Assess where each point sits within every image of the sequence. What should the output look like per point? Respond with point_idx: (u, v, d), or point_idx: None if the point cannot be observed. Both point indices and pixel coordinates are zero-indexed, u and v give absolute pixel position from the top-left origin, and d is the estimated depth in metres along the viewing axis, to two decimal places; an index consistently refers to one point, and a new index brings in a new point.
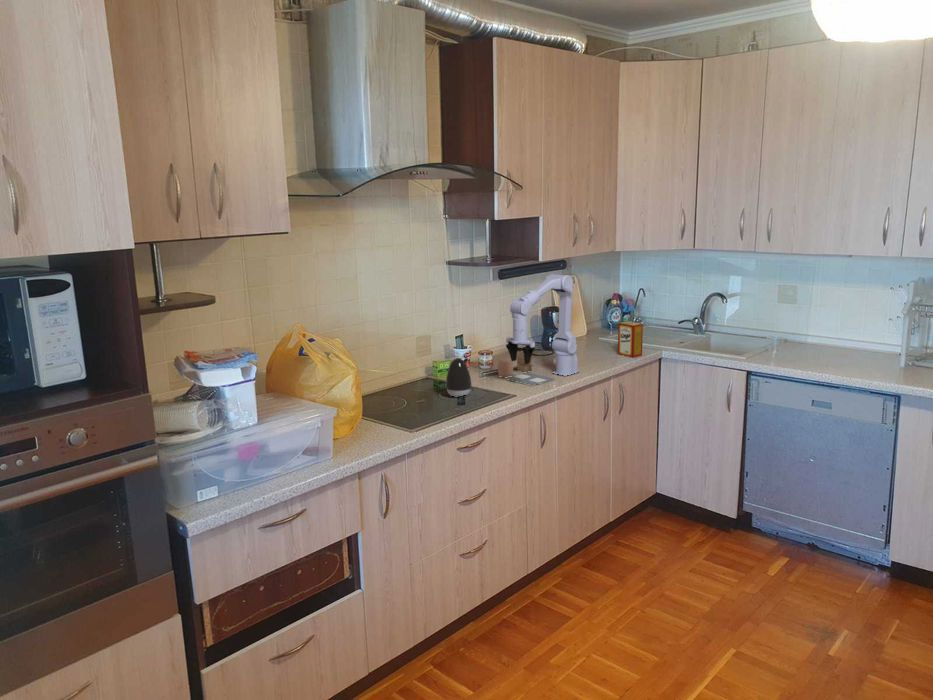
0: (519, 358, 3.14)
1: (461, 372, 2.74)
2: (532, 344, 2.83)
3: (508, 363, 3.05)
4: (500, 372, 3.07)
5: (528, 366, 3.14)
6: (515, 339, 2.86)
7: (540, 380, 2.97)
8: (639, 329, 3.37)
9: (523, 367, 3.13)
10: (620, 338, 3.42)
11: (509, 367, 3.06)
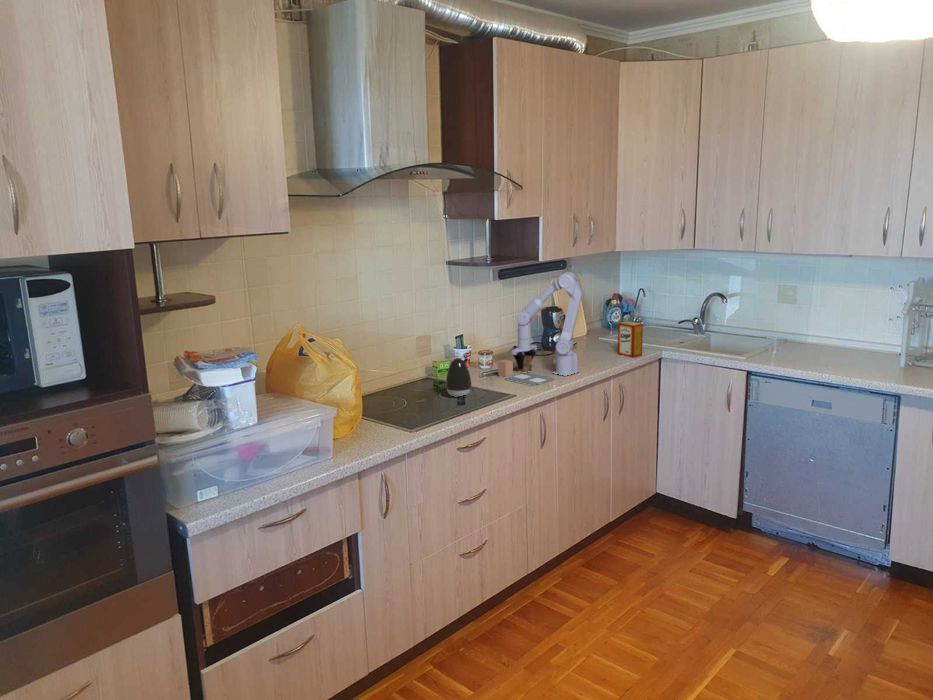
0: None
1: (461, 372, 2.74)
2: (512, 351, 3.09)
3: (508, 363, 3.05)
4: (500, 372, 3.07)
5: (528, 366, 3.14)
6: None
7: (540, 380, 2.97)
8: (640, 329, 3.37)
9: (523, 367, 3.13)
10: (620, 338, 3.42)
11: (509, 367, 3.06)
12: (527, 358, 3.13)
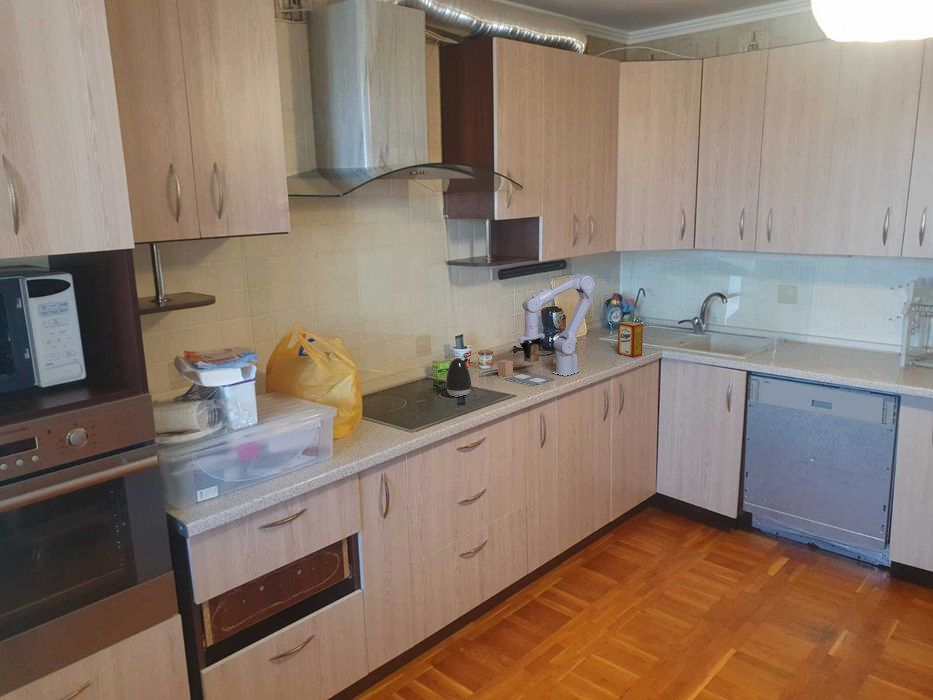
0: None
1: (461, 372, 2.74)
2: (518, 339, 2.98)
3: (508, 363, 3.05)
4: (500, 372, 3.07)
5: (535, 355, 3.02)
6: None
7: (540, 380, 2.97)
8: (639, 329, 3.37)
9: (530, 356, 3.02)
10: (620, 338, 3.42)
11: (509, 367, 3.06)
12: (534, 347, 3.01)
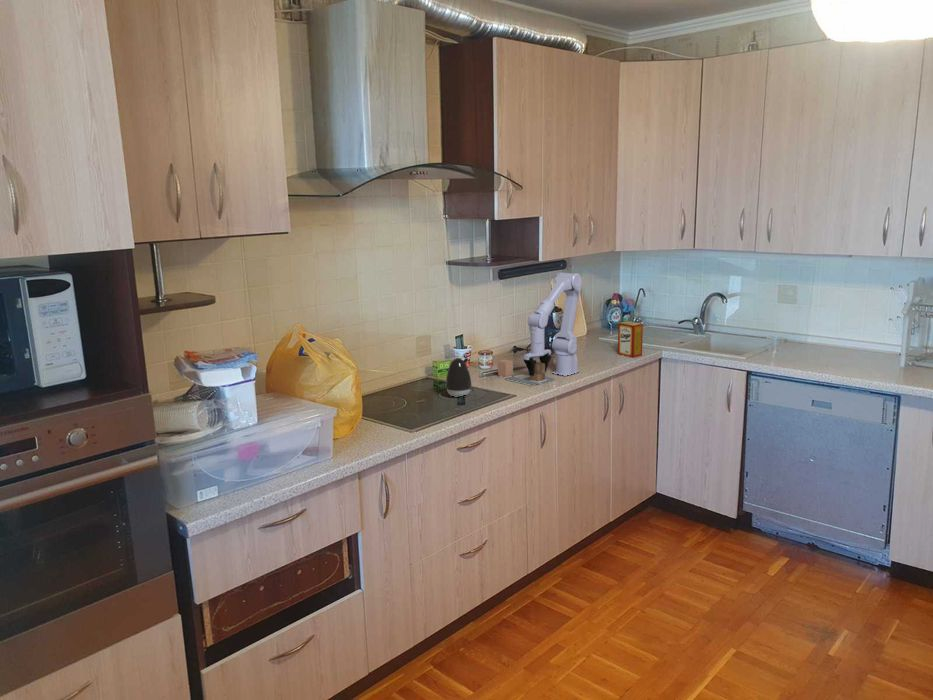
0: None
1: (461, 372, 2.74)
2: (524, 356, 2.91)
3: (508, 363, 3.05)
4: (500, 372, 3.07)
5: (541, 374, 2.96)
6: None
7: None
8: (639, 329, 3.37)
9: (536, 375, 2.95)
10: (620, 338, 3.42)
11: (509, 367, 3.06)
12: (540, 366, 2.95)
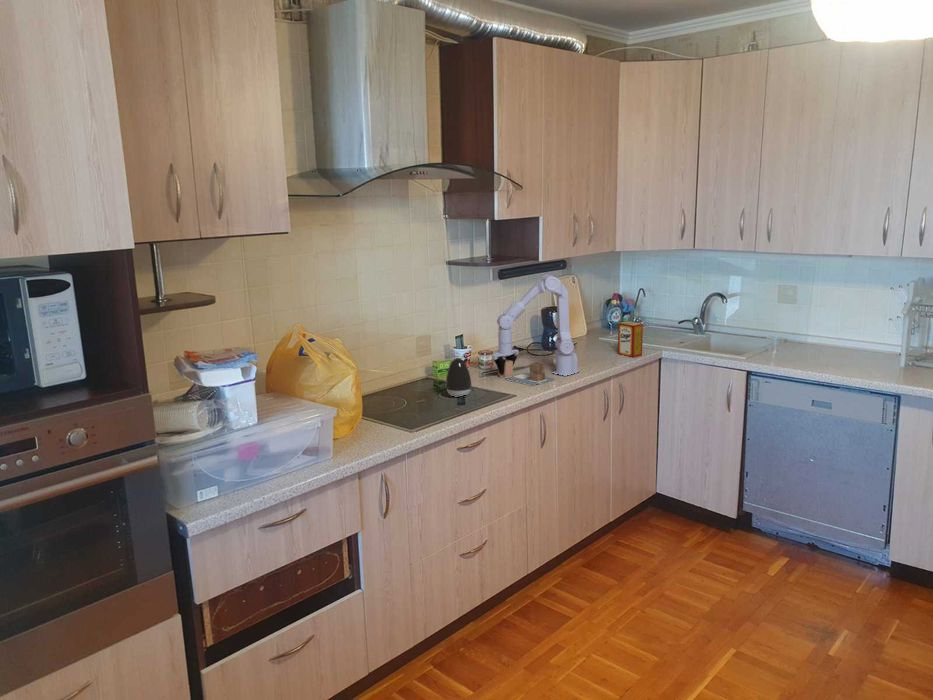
0: (532, 365, 2.96)
1: (461, 372, 2.74)
2: (492, 356, 3.01)
3: (508, 363, 3.05)
4: None
5: (541, 374, 2.96)
6: None
7: None
8: (639, 329, 3.37)
9: (536, 375, 2.95)
10: (620, 338, 3.42)
11: (509, 367, 3.06)
12: (540, 366, 2.95)
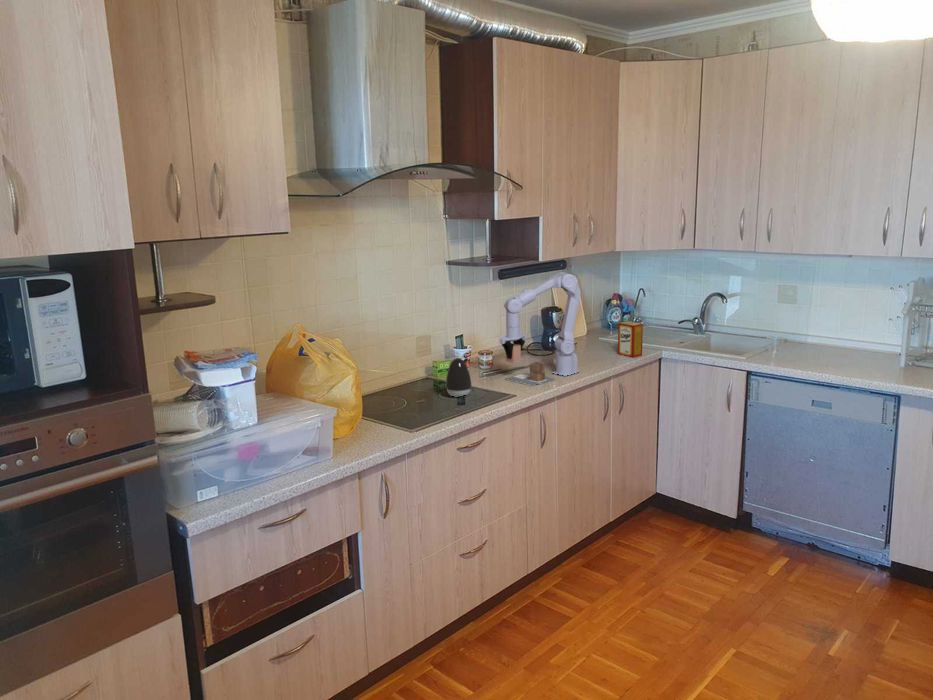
0: (532, 365, 2.96)
1: (461, 372, 2.74)
2: (500, 340, 2.99)
3: (516, 347, 3.02)
4: None
5: (541, 374, 2.96)
6: None
7: None
8: (639, 329, 3.37)
9: (536, 375, 2.95)
10: (620, 338, 3.42)
11: (517, 351, 3.03)
12: (540, 366, 2.95)
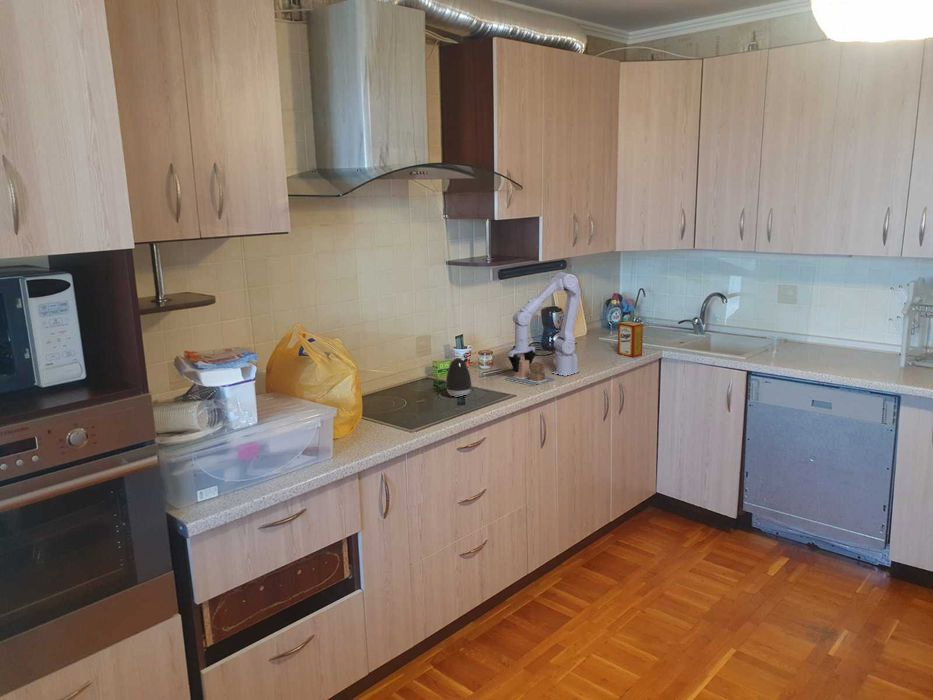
0: (532, 365, 2.96)
1: (461, 372, 2.74)
2: (509, 353, 2.98)
3: (524, 363, 3.02)
4: (516, 372, 3.03)
5: (541, 374, 2.96)
6: None
7: None
8: (639, 329, 3.37)
9: (536, 375, 2.95)
10: (620, 338, 3.42)
11: (525, 366, 3.02)
12: (540, 366, 2.95)
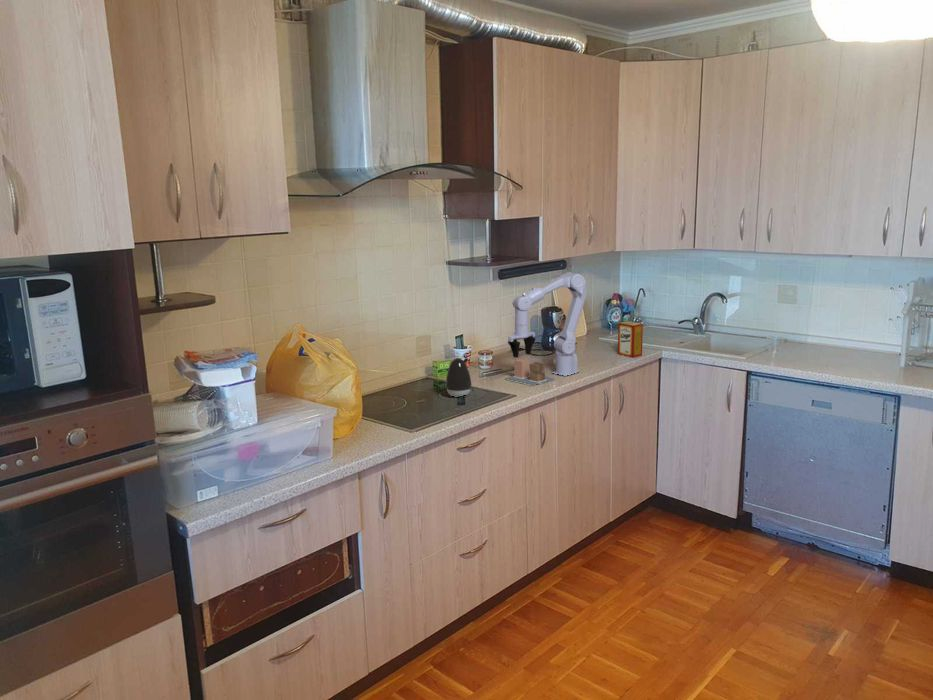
0: (532, 365, 2.96)
1: (461, 372, 2.74)
2: (509, 338, 2.97)
3: (524, 363, 3.02)
4: (516, 372, 3.03)
5: (541, 374, 2.96)
6: None
7: None
8: (639, 329, 3.37)
9: (536, 375, 2.95)
10: (620, 338, 3.42)
11: (525, 366, 3.02)
12: (540, 366, 2.95)
